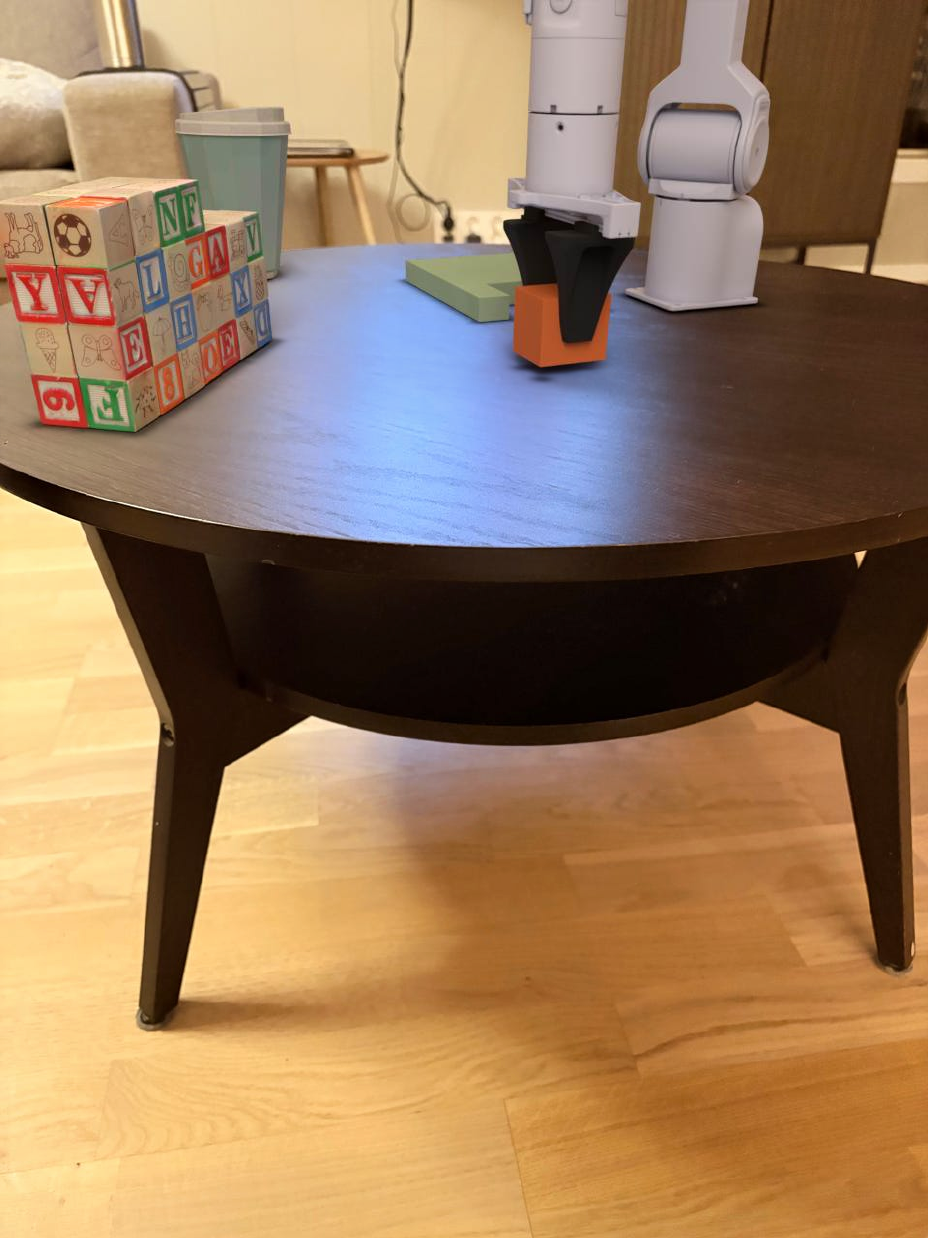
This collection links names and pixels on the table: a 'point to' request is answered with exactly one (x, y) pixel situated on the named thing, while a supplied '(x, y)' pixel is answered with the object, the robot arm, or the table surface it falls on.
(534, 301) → the orange cube
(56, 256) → the stack of blocks
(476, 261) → the base pad
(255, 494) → the table surface
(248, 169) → the disposable coffee cup
